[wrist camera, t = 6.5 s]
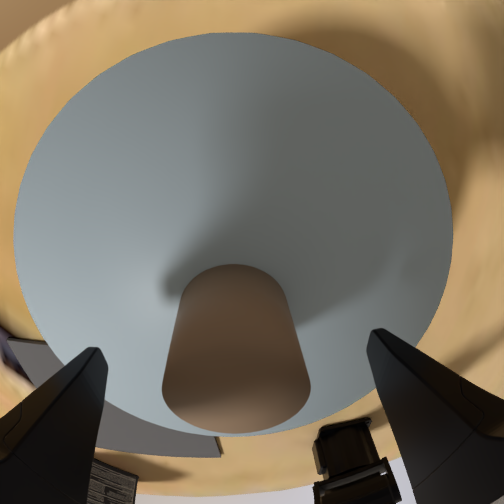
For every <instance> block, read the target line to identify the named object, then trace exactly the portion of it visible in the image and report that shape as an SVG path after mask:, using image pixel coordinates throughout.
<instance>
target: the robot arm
mask: <svg viewBox="0 0 504 504" xmlns="http://www.w3.org/2000/svg"><path fill="white" fill-rule="evenodd" d="M366 353H367V357H368V360H369V364H370V367H371V371H372V375H373V378H374V382H375V386H376V389H377V392H378V395H379V397H380V400H381V403H382V405H383V408H384V410H385V413H386V415H387V418H388V421H389V423H390V426H391V429H392V431H393V434H394V437H395V440H396V442H397V445H398V448H399V451H400V454H401V456H402V459H403V462H404V465H405V468H406V470H407V474H408V477H409V480H410V483H411V486H412V489H413V493H414V496H415V500H416V503H417V504H504V400H503V399H501V398H499V397H497V396H495V395H493V394H491V393H489V392H487V391H485V390H484V389H482V388H480V387H478V386H476V385H475V384H473V383H471V382H470V381H468V380H466V379H465V378H463V377H462V376H459V375H458V374H457V373H455V372H453V371H452V370H450V369H449V368H447V367H445V366H444V365H442V364H441V363H439V362H437V361H436V360H434V359H433V358H431V357H429V356H428V355H426V354H425V353H423V352H421V351H420V350H418V349H417V348H415V347H413V346H412V345H410V344H409V343H407V342H405V341H404V340H402V339H400V338H399V337H397V336H396V335H394V334H392V333H391V332H389V331H388V330H386V329H384V328H377V329H373V330H371V332H370V335H369V339H368V343H367V347H366ZM107 377H108V364H107V361H106V359H105V357H104V355H103V353H102V351H101V349H100V348H99V347H87V348H86V349H85V350H83V351H82V352H81V353H80V354H79V355H77V356H76V357H75V358H74V359H72V360H71V361H70V362H69V363H67V364H66V365H65V366H64V367H62V368H61V369H60V370H59V371H58V372H56V373H55V374H54V375H53V376H51V377H50V378H49V379H48V380H47V381H45V382H44V383H43V384H42V385H41V386H39V387H38V388H37V389H36V390H34V391H33V392H32V393H31V394H30V395H28V396H27V397H26V398H25V399H24V400H23V401H22V402H20V403H19V404H18V405H17V406H15V407H14V408H13V409H12V410H11V411H9V412H8V413H7V414H6V415H4V416H3V417H2V418H0V504H87V499H88V491H89V483H90V477H91V470H92V464H93V458H94V452H95V447H96V441H97V436H98V431H99V426H100V422H101V417H102V413H103V408H104V401H105V392H106V385H107ZM371 422H372V420H371V418H365V419H361V420H357V421H353V422H348V423H344V424H339V425H334V426H329V427H323V428H321V429H319V432H318V435H317V439H316V440H315V441H314V444H313V448H312V451H313V455H314V460H315V464H316V468H317V473H318V474H319V475H322V474H323V478H324V480H323V481H320V482H319V481H318V482H314V486H313V492H314V504H396V503H398V502H400V501H402V498H401V495H400V492H399V489H398V486H397V483H396V480H395V478H394V475H393V472H392V470H391V467H390V465H389V462H388V460H387V457H384V458H382V459H381V460H380V458H379V455H378V452H377V450H376V447H375V444H374V442H373V439H372V436H371V433H370V431H369V426H370V424H371ZM384 472H386V474H384V475H381V473H384Z"/></svg>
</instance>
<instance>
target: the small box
mask: <svg viewBox="0 0 504 504" xmlns="http://www.w3.org/2000/svg"><path fill="white" fill-rule="evenodd" d="M138 478H139V477H138V476H137V475H134V474H131V473H128V472H125V471H123V470H120V469H118V468H115V467H113V466H110V465H108V464H105V463H103V462H101V461H98V460H96V459H94V458H93V464H92V470H91V477H90V483H89V491H88V499H87V504H135V496H136V490H137V482H138Z"/></svg>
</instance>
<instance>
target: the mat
mask: <svg viewBox="0 0 504 504" xmlns="http://www.w3.org/2000/svg"><path fill="white" fill-rule="evenodd" d="M7 342H8V344H9V346H10V348H11V349H12V351H13V353H14V354H15V356H16V358H17V359H18V361H19V363H20V364H21V366H22V367H23V369H24V370H25V372H26V373H27V375H28V376H29V378H30V379H31V381H32V382H33V384H34V385H35V387H36V388H38V387H39V386H41V385H42V384H43V383H44V382H45V381H47V380H48V379H49V378H50V377H51V376H53V375H54V374H55V373H56V372H58V371H59V370H60V369H61V368H62V367H64V366H65V365H64V364H63V363H62V362H61V361H60V360H59V358H58V357H57V356H56V355H55V353H54V352H53V351H52V349H51V348H50V347H49V345H48V344H47V342H39V341H30V340H21V339H13V338H8V339H7ZM96 447H98V448H104V449H109V450H115V451H122V452H129V453H137V454H147V455H157V456H171V457H198V458H217V457H221V454H220V451H219V448H218V445H217V442H216V438H215V436H207V435H200V434H193V433H187V432H182V431H178V430H174V429H170V428H166V427H162V426H159V425H157V424H154V423H151V422H148V421H145V420H143V419H140V418H138V417H136V416H134V415H132V414H129V413H127V412H125V411H123V410H122V409H120V408H118V407H116V406H115V405H113V404H111V403H109V402H108V401H106V400H105V401H104V408H103V413H102V417H101V422H100V426H99V431H98V436H97V441H96Z"/></svg>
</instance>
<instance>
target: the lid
mask: <svg viewBox="0 0 504 504" xmlns="http://www.w3.org/2000/svg"><path fill="white" fill-rule="evenodd" d="M452 245H453V224H452V211H451V204H450V199H449V195H448V190H447V186H446V182H445V178H444V176H443V173H442V170H441V168H440V165H439V163H438V160H437V158H436V155H435V153H434V151H433V149H432V147H431V146H430V144H429V142H428V140H427V139H426V137H425V135H424V134H423V132H422V130H421V129H420V127H419V126H418V124H417V123H416V121H415V120H414V119H413V118H412V117H411V115H410V114H409V113H408V112H407V111H406V109H405V108H404V107H403V106H402V105H401V104H400V102H399V101H398V100H397V99H396V98H395V97H394V96H393V95H392V94H391V93H389V92H388V91H387V90H386V89H385V88H384V87H383V86H381V85H380V84H379V83H378V82H377V81H375V80H374V79H373V78H372V77H370V76H369V75H368V74H366V73H365V72H363V71H362V70H360V69H358V68H357V67H355V66H353V65H352V64H350V63H348V62H346V61H345V60H343V59H341V58H339V57H338V56H336V55H334V54H331V53H329V52H326V51H324V50H321V49H319V48H316V47H313V46H311V45H308V44H305V43H302V42H299V41H296V40H292V39H287V38H282V37H276V36H270V35H264V34H258V33H209V34H203V35H197V36H191V37H186V38H181V39H176V40H171V41H168V42H165V43H162V44H159V45H157V46H154V47H151V48H149V49H146V50H144V51H141V52H139V53H136V54H134V55H131V56H130V57H128V58H126V59H124V60H122V61H121V62H119V63H117V64H116V65H114V66H112V67H111V68H109V69H107V70H106V71H104V72H103V73H101V74H100V75H98V76H97V77H95V78H94V79H93V80H92V81H91V82H89V83H88V84H87V85H86V86H85V87H84V88H82V89H81V90H80V91H79V92H78V93H77V94H76V95H75V96H74V97H72V98H71V99H70V100H69V101H68V103H67V104H66V105H65V106H64V107H63V108H62V110H61V111H60V112H59V113H58V115H57V116H56V117H55V118H54V120H53V121H52V122H51V123H50V125H49V126H48V127H47V129H46V131H45V132H44V134H43V136H42V137H41V139H40V141H39V143H38V144H37V146H36V148H35V150H34V152H33V154H32V155H31V158H30V160H29V163H28V165H27V168H26V171H25V174H24V176H23V179H22V182H21V185H20V189H19V194H18V199H17V204H16V210H15V217H14V253H15V262H16V269H17V274H18V278H19V282H20V286H21V290H22V293H23V296H24V299H25V301H26V304H27V307H28V309H29V312H30V314H31V316H32V318H33V320H34V322H35V324H36V326H37V328H38V329H39V331H40V333H41V335H42V336H43V338H44V339H45V341H46V342H47V344H48V345H49V347H50V348H51V349H52V351H53V352H54V353H55V355H56V356H57V357H58V358H59V360H60V361H61V362H62V363H63V364H64V365H66V364H67V363H69V362H70V361H71V360H72V359H74V358H75V357H76V356H77V355H79V354H80V353H81V352H82V351H83V350H85V349H86V348H87V347H99V348H100V349H101V351H102V353H103V355H104V357H105V359H106V361H107V364H108V377H107V385H106V392H105V400H106V401H108V402H109V403H111V404H113V405H115V406H116V407H118V408H120V409H122V410H123V411H125V412H127V413H129V414H132V415H134V416H136V417H138V418H140V419H143V420H145V421H148V422H151V423H154V424H157V425H159V426H162V427H166V428H170V429H174V430H178V431H182V432H187V433H193V434H200V435H207V436H222V437H240V436H255V435H264V434H271V433H276V432H281V431H286V430H290V429H294V428H297V427H301V426H304V425H307V424H310V423H313V422H315V421H318V420H320V419H323V418H325V417H328V416H330V415H332V414H334V413H336V412H338V411H340V410H342V409H344V408H346V407H348V406H350V405H351V404H353V403H354V402H356V401H358V400H359V399H361V398H362V397H364V396H365V395H367V394H368V393H369V392H371V391H372V390H373V389H375V388H376V386H375V382H374V378H373V375H372V371H371V367H370V364H369V360H368V357H367V353H366V347H367V343H368V339H369V335H370V332H371V330H373V329H377V328H384V329H386V330H388V331H389V332H391V333H392V334H394V335H396V336H397V337H399V338H400V339H402V340H404V341H405V342H407V343H409V344H410V345H412V346H413V347H416V345H417V344H418V342H419V341H420V339H421V338H422V336H423V335H424V333H425V332H426V330H427V329H428V327H429V325H430V323H431V321H432V319H433V317H434V315H435V313H436V311H437V309H438V306H439V304H440V301H441V298H442V295H443V292H444V289H445V286H446V283H447V278H448V274H449V269H450V264H451V257H452Z"/></svg>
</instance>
